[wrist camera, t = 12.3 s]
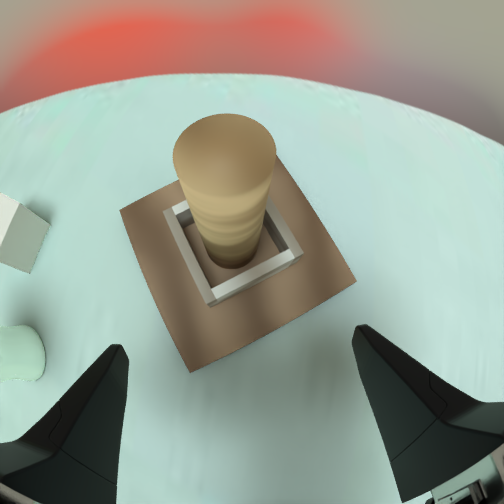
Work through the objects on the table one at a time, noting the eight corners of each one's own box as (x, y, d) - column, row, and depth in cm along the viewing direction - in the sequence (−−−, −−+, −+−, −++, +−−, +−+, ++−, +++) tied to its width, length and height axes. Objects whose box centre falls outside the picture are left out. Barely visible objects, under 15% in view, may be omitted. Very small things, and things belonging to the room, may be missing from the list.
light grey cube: (5, 255, 23) (-27, 239, 18) (24, 211, 25) (-5, 189, 19) (30, 274, 23) (-5, 260, 17) (51, 225, 25) (19, 202, 19)
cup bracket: (192, 371, 22) (182, 378, 18) (123, 214, 25) (107, 195, 21) (352, 283, 24) (371, 273, 20) (266, 148, 28) (270, 123, 24)
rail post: (240, 279, 23) (242, 214, 10) (195, 252, 23) (152, 167, 11) (267, 235, 24) (293, 137, 12) (223, 211, 25) (210, 102, 12)
